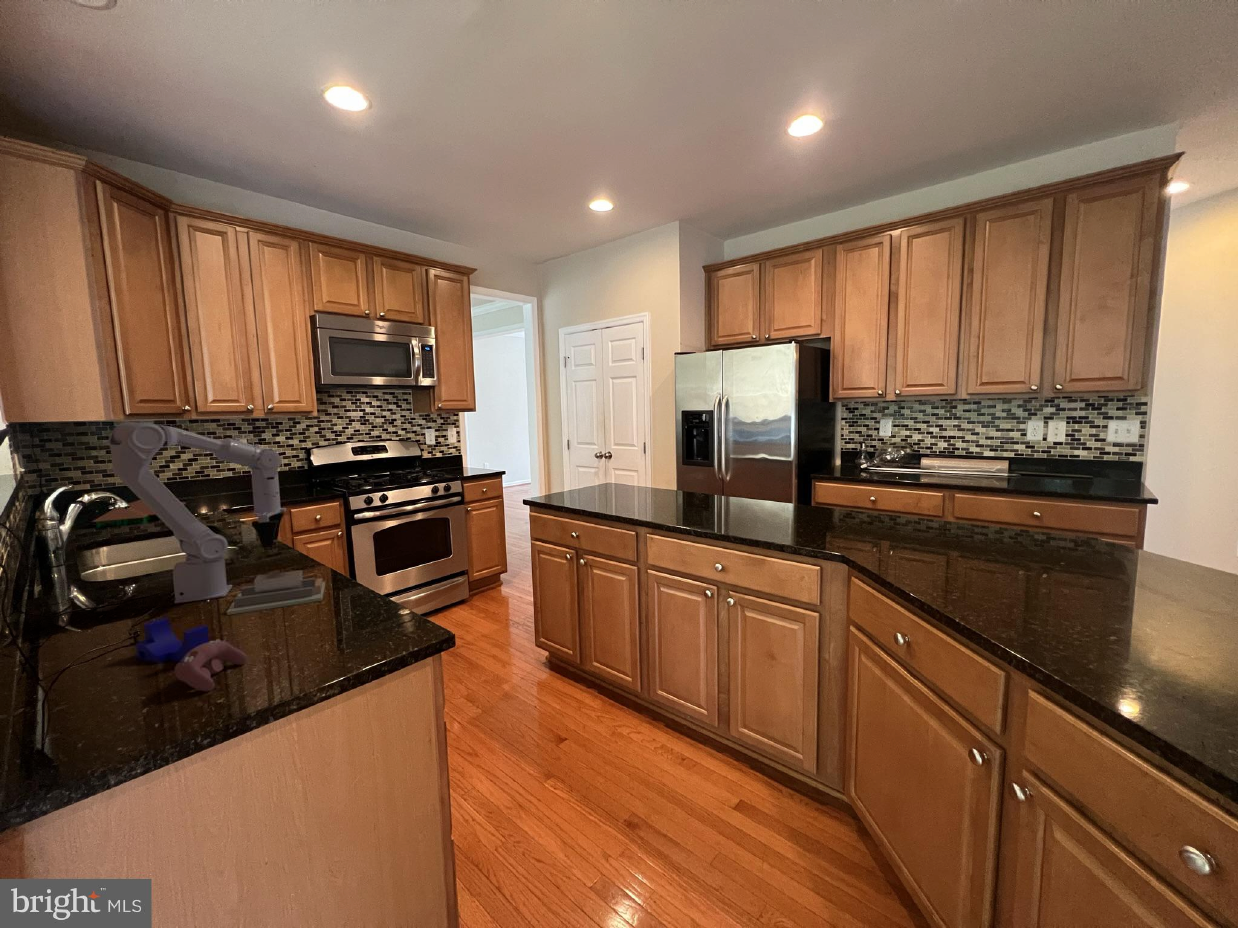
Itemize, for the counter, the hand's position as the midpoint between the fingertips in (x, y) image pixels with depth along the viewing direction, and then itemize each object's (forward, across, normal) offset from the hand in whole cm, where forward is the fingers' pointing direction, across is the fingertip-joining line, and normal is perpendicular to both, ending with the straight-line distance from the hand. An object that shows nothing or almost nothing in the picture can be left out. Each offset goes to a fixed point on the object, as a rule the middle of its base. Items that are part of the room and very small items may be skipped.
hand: (270, 543), depth 132 cm
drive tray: (+9, -19, -4) cm, 22 cm away
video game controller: (+10, -56, +1) cm, 56 cm away
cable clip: (+10, -44, +9) cm, 46 cm away
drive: (+9, -19, -4) cm, 21 cm away
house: (+10, +112, +60) cm, 127 cm away
